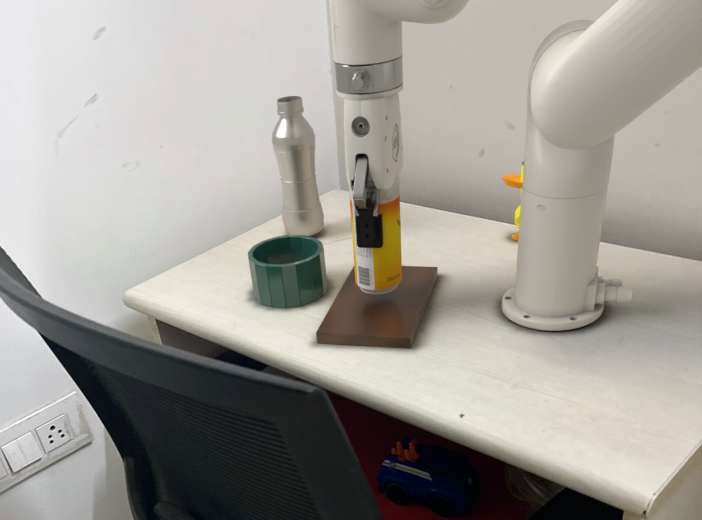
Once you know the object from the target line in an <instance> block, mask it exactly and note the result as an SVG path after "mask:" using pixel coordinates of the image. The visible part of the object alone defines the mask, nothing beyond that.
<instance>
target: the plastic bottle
mask: <svg viewBox="0 0 702 520" xmlns="http://www.w3.org/2000/svg"><path fill="white" fill-rule="evenodd" d="M303 105H304V104H303V98H302V96H300V95H288V96H283V97H279V98H277V99H276V106H277V107H276V108H277V110H276V114H277V115H278V116H279V118H278V120H277V122H276V124H275V125H274V129H273V131H272V134H271V145H272V149H273V151H274V156H275V158H276V163H277V167H278V171H279V176H280V183H281V194H282V211H281V216H282V224H283V227H284V230H285V231H286V232H287V233H288V235H305V236H309V237H312V236H314V235H317V234H318V233H320V232H321V231H322V229H323V227H324V223H325V214H324V210H323V206H322V203H321V199H320V195H319V189H318V184H317V175H316V134H315V132H314V129H313V127H312V126H311V124H310V123H309V122H308V120H307V119H306V118H305V117H304V115H303V113H304V112H305V109H304V106H303Z"/></svg>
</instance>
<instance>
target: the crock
mask: <svg viewBox="0 0 702 520" xmlns="http://www.w3.org/2000/svg"><path fill="white" fill-rule="evenodd" d="M247 260H248V265H249V271H250V277H251V283H252V289H253V295H254V299H255V300H256V301H257V302H258V303H260V305H263V306H266V307H270V308H276V309H277V308H278V309H288V308H295V307H301V306H302V307H303V306H305V305H308V304H311V303H314V302H317V300H319V299H320V298H322V297H323V296H324V295H325V294H326V292H327V291H328V288H329V287H328V277H327V269H326V268H327V267H326V258H325V249H324V243H323V242H322V241H321V240H319V239H317V237H314V236H305V235H290V234H286V235H279V236H274V237H271V238H270V237H269V238H267V239H264V240H262V241H260V242H258V243H256V244H254V245H253V246H252V247H250V249H249V250H248V251H247Z"/></svg>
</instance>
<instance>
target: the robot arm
mask: <svg viewBox="0 0 702 520" xmlns="http://www.w3.org/2000/svg"><path fill="white" fill-rule="evenodd" d="M469 1H470V0H328V5H329V16H330V31H331V46H332V59H333V71H334V85H335V96H337V97H339V98H341V99H343V134H344V135H343V136H344V137H343V138H344V139H343V140H344V158H345V159H344V161H345V174H346V181H347V187H348V189H349V188H350V189H351V190H352V191H353V200H354V204H355V205H354V206H355V223H356V238H357V246H358V247H360V248H381V247H382V246H383V223H382V214H379V206H380V189H382V190H383V191H387V190H388V189H389V188H390V187H391V186H392V185H393V183H394V181H395V177H396V174H397V173H398V174H399V175H400V173H401V171H402V169H403V166H404V147H403V132H402V117H401V105H400V95H399V93H400V92H401V91H403V89H404V66H403V65H404V60H403V22H406V23H416V24H425V25H426V24H427V25H436V24H442V23H445V22H448V21H450V20H452V19H454V18H456V17H457V16H458V15H459V14H460V13H461V12H462V11H463V10H464V9H465V8H466V6H467V5H468V3H469ZM533 55H534V56H533V58H532V61H531V64H530V68H529V74H528V80H527V95H526V96H527V99H526V106H527V107H526V120H525V121H526V123H525V124H526V125H525V141H524V142H525V143H524V157H523V161H524V171H523V183H522V196H521V195H520V204H521V210H520V224H519V229H518V232H519V238H518V240H517V254H516V268H515V284H514V285H513V286H511V287H510V288H509V289H507V290H506V291H505V292H504V294H503V295H502V297H501V304H500V305H501V306H500V307H501V311H502V313H503V315H504V316H505V317H506V319H509V320H510V321H512V322H513V323H515V324H517V325H520V326H522V327H525V328H528V329H531V330H532V329H533V330H538V331H548V332H549V331H550V332H556V331H559V332H560V331H569V330H575V329H579V328H582V327H586V326H588V325H590V324H592V323H594V322H595V321H597V320H598V319H600V317H601V316H602V314H603V312H604V308H605V302H615V303H629V304H630V303H632V299H633V293H634V286H630V285H623V279H622V278H619V279H618V278H611V279H607V278H603V276H599V266H598V259H599V253H600V244H601V239H602V238H601V237H602V231H603V225H604V216H605V209H606V203H607V195H608V187H609V183H610V176H611V170H612V169H611V168H612V161H613V152H614V144H615V135H616V134H617V133H619V132H620V131H621V130H623V129H624V128H625V127H627V126H628V125H630V124H631V123H632V122H633V121H635V120H636V119H637V118H638V117H640V116H641V115H643V113H645V112H646V111H647V110H649V109H650V108H651V107H652V106H654V105H655V104H656V103H657V102H659V101H660V100H661V99H663V98H664V97H665V96H666V95H668V94H669V93H670V92H671V91H673V90H674V89H675V88H677V87H678V86H679V85H680V84H682V83H683V82H684V81H685V80H687V79H688V78H689V77H690V76H693V74H694V73H695V72H697V71H698V70H699V69H700V68H702V0H617V1H616V2H615V3H614V4H613V5H611V7H610V8H609V9H607V10H606V11H605V12H604V13H603V14H602V15H601V16H600V17H598V18H597V19H596V20H595V21H594V20H590V19H576V20H572V21H568V22H566V23H563V24H561V25H560V26H558V27H556V28H554V30H552V31H551V32H550V33H549V34H547V36H546V37H545V38H544V39H543V41H542V42H541V43H540V44H539V46H538V48H537V49H536V51H535V54H533ZM354 177H355V181H353V180H354ZM367 182H373V183H374V184H375V188H367ZM367 193H373V203H372V201H371V198H367Z"/></svg>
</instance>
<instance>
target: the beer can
mask: <svg viewBox="0 0 702 520" xmlns="http://www.w3.org/2000/svg"><path fill="white" fill-rule="evenodd" d="M353 181H355V177H354V180H353ZM367 188H375V184H374V183H373V182H367ZM400 194H401V193H400V173H399V174H398V173H397V174H396V177H395V181H394V183H393V185H392V186H391V187H390V188H389V189H388V190H387V191H383V190H382V189H380V206H379V214H382V223H383V246H382V247H381V248H360V247H358V246H357V238H356V223H355V206H354V205H355V204H354V200H353V191H352V190H351V189H350V188H349V187H348V195H349V196H348V197H349V209H350V224H351V241H352V252H353V253H352V254H353V267H354V268H355V282H356V284H357V285H358V286H359V287H360V289H361V290H362V291H363V292H366V293H369V294H384V293H388V292H391V291H393V290H395V289H396V288H397V287H398V284H399V283H400V282H401V281H402V266H403V264H402V263H403V262H402V228H401V225H402V224H401V195H400ZM367 198H371V201H372V203H373V193H367Z"/></svg>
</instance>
